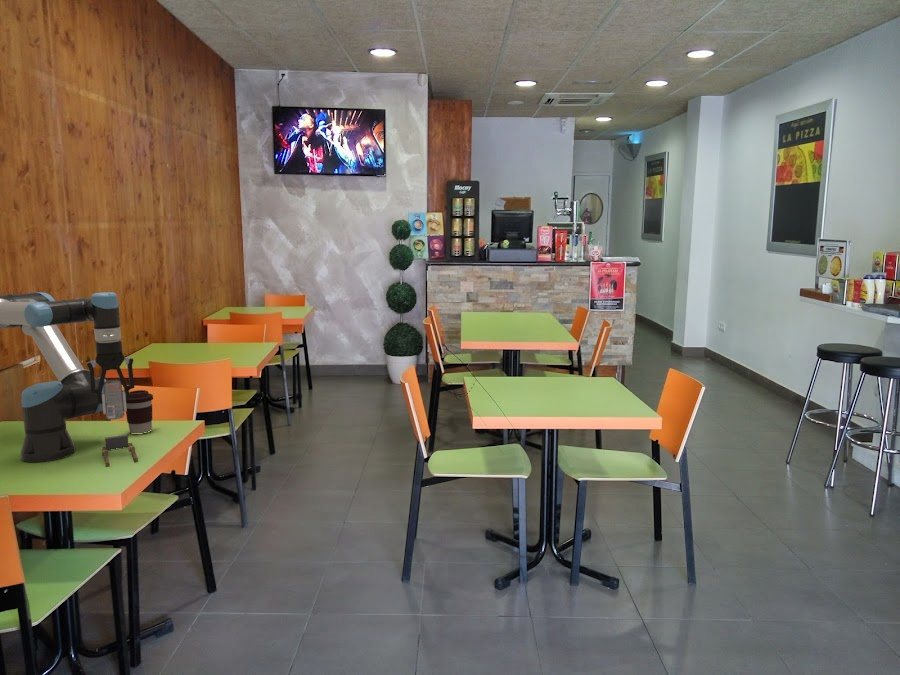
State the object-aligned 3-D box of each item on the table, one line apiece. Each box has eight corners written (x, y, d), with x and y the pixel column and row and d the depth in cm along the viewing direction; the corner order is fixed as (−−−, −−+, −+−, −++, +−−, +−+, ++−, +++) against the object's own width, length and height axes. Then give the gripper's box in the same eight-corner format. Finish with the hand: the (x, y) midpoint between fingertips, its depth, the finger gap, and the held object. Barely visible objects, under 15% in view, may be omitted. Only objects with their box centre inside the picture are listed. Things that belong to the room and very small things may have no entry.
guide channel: (105, 467, 213) (104, 462, 213) (101, 450, 231) (100, 446, 231) (139, 461, 218) (138, 457, 218) (132, 445, 235) (132, 441, 235)
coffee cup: (134, 429, 257) (130, 389, 255) (160, 428, 257) (157, 388, 255) (120, 436, 247) (116, 395, 245) (148, 436, 247) (144, 394, 245)
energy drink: (118, 415, 230) (114, 379, 228) (128, 416, 227) (124, 380, 225) (102, 418, 225) (99, 382, 224) (112, 420, 223) (109, 383, 221)
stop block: (106, 450, 231) (105, 439, 230) (105, 449, 232) (104, 437, 232) (128, 447, 234) (127, 435, 233) (128, 445, 236) (127, 434, 235)
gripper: (76, 345, 215) (83, 418, 218) (140, 339, 224) (146, 410, 227) (75, 342, 222) (82, 413, 225) (138, 337, 230) (144, 405, 234)
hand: (114, 411), depth 226 cm, fingers closed on energy drink, 5 cm apart
